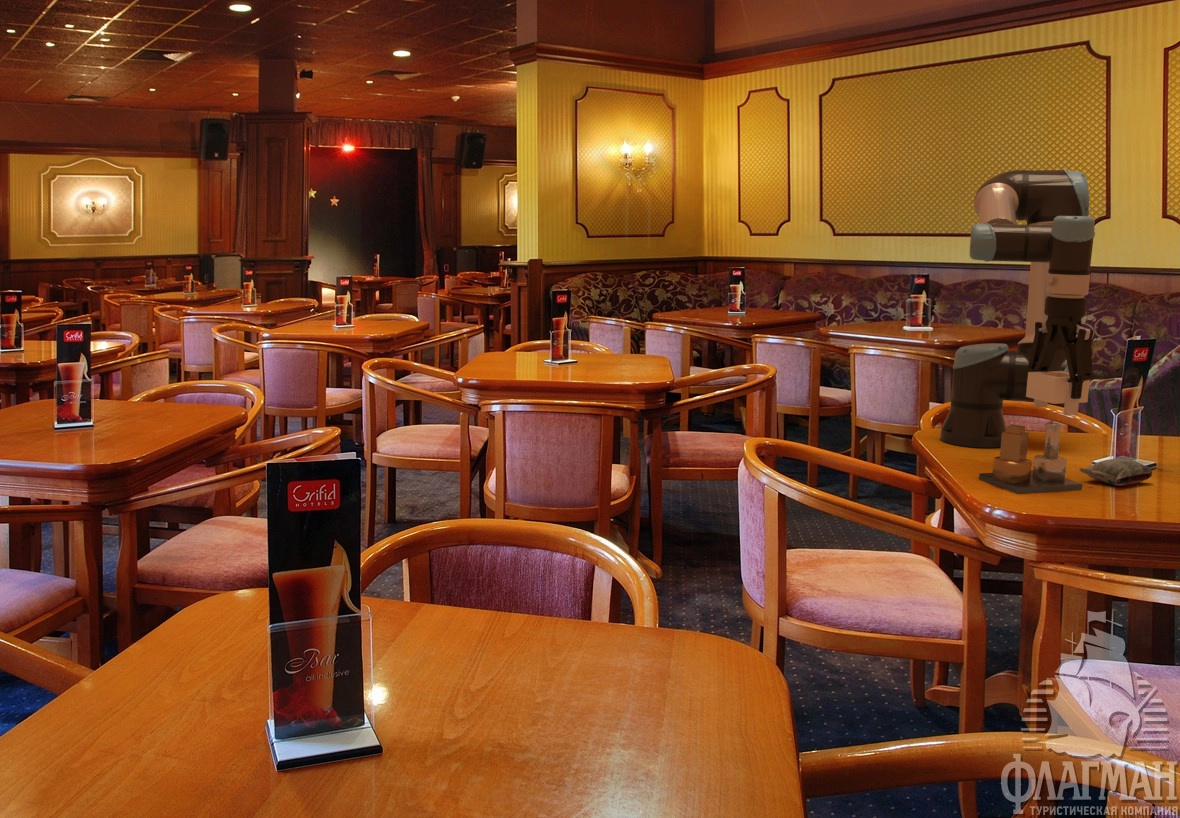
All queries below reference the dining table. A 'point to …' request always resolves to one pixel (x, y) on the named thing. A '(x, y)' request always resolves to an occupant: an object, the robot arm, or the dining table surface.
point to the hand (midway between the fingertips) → (1055, 410)
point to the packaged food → (1118, 472)
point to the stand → (1050, 457)
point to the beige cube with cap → (1052, 387)
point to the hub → (1013, 457)
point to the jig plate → (1033, 484)
